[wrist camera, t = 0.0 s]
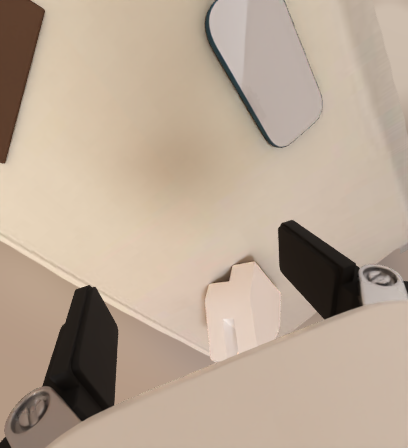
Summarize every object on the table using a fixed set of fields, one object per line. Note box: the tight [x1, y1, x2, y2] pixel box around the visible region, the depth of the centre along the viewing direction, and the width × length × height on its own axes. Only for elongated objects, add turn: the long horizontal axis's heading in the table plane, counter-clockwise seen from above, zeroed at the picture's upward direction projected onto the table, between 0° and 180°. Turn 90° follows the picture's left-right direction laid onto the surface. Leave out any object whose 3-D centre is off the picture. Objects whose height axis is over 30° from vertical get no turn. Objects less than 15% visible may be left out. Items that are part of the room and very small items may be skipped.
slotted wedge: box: [205, 261, 281, 362], centre depth 51 cm, size 14×11×18 cm
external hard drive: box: [205, 0, 323, 148], centre depth 37 cm, size 24×12×2 cm, turn 39°
